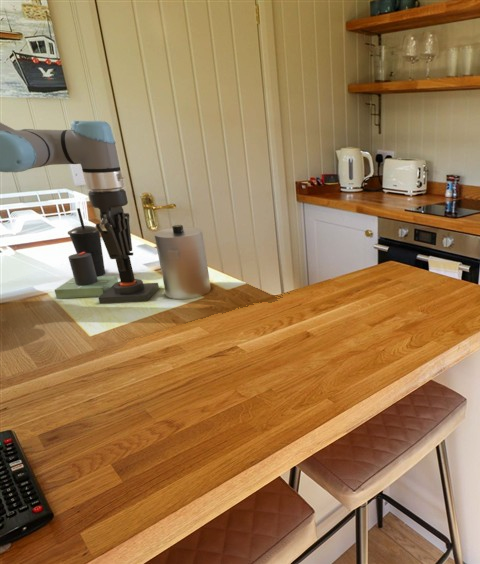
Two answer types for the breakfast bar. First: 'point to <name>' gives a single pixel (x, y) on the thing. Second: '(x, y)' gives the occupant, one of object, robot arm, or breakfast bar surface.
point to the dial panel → (85, 288)
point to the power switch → (128, 283)
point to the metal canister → (183, 262)
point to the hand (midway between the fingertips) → (128, 281)
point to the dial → (83, 268)
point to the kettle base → (129, 292)
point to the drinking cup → (88, 244)
